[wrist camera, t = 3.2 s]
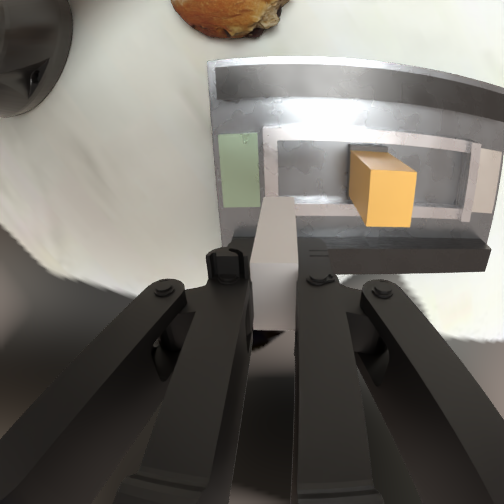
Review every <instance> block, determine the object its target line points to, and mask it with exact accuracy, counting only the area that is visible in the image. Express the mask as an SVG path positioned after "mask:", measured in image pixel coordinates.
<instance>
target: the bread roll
mask: <svg viewBox="0 0 504 504" xmlns="http://www.w3.org/2000/svg"><path fill="white" fill-rule="evenodd" d="M288 1H289V0H171V3H172V5H173V7H174V9H175V10H176V12H177V13H178V14H179V15H180V16H181V17H182V18H183V20H184V21H185V22H187V23H188V24H189V25H190V26H191V27H193V28H194V29H196V30H198V31H200V32H202V33H203V34H205V35H207V36H211V37H218V38H242V37H244V36H245V37H252V38H256V37H259V36H260V35H262V33H263V31H264V29H269V28H270V27H273V26H275V25H277V24H278V22H279V20H280V19H279V17H280V15H281V7H282V6H283V5H284V4H286V3H287V2H288ZM266 2H267V4H266Z"/></svg>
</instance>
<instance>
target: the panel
mask: <svg viewBox="0 0 504 504" xmlns="http://www.w3.org/2000/svg"><path fill="white" fill-rule="evenodd" d="M207 66H208V81H209V96H210V111H211V124H212V137H213V150H214V162H215V174H216V185H217V196H218V207H219V218H220V228H221V238H222V247H227V246H228V244H229V243H231V242H232V241H233V240H234V239H255V235H256V231H257V226H258V221H259V217H260V212H261V207H262V202H263V198H264V197H294V201H295V215H296V231H297V238H320V239H321V240H322V241H324V242H325V243H326V246H327V250H328V254H329V259H330V263H331V267H332V272H333V273H334V274H410V273H453V272H485V269H486V266H487V263H488V259H489V256H490V252H491V248H490V247H489V246H488V245H487V240H488V236H489V232H490V228H491V224H492V220H493V215H494V210H495V205H496V200H497V195H498V189H499V183H500V177H501V170H502V163H503V155H504V88H502V87H499V86H496V85H493V84H489V83H486V82H482V81H479V80H475V79H471V78H467V77H463V76H459V75H455V74H451V73H446V72H442V71H437V70H432V69H427V68H421V67H416V66H410V65H403V64H396V63H389V62H381V61H372V60H363V59H351V58H336V57H312V56H274V57H250V58H235V59H223V60H213V61H207ZM349 144H367V145H383V146H387V147H388V153H389V154H391V155H392V156H394V157H395V158H397V159H398V160H400V161H401V162H403V163H404V164H406V165H407V166H409V167H410V168H412V169H413V170H415V171H416V172H417V178H416V187H415V195H414V203H413V210H412V217H411V224H410V227H366V225H365V224H364V222H363V220H362V218H361V216H360V215H359V213H358V211H357V209H356V207H355V206H354V204H353V202H352V200H348V199H347V179H348V151H349Z"/></svg>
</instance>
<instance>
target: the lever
mask: <svg viewBox="0 0 504 504" xmlns="http://www.w3.org/2000/svg"><path fill="white" fill-rule="evenodd" d="M416 178H417V172H416V171H415V170H413V169H412V168H410V167H409V166H407V165H406V164H404V163H403V162H401V161H400V160H398V159H397V158H395V157H394V156H392V155H391V154H389V153H388V147H387V146H383V145H367V144H349V151H348V179H347V199H348V200H352V202H353V204H354V206H355V207H356V209H357V211H358V213H359V215H360V216H361V218H362V220H363V222H364V224H365V225H366V227H410V224H411V217H412V210H413V203H414V195H415V187H416Z"/></svg>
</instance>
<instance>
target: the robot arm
mask: <svg viewBox="0 0 504 504" xmlns="http://www.w3.org/2000/svg"><path fill="white" fill-rule="evenodd" d="M71 38H72V15H71V10H70V6H69V4H68V1H67V0H0V118H5V117H11V116H14V115H18V114H22V113H25V112H27V111H29V110H31V109H33V108H34V107H35V106H37V105H38V104H39V103H40V102H41V101H42V100H43V99H44V98H45V97H46V96H47V95H48V93H49V92H50V91H51V89H52V88H53V86H54V85H55V83H56V81H57V80H58V78H59V76H60V74H61V72H62V69H63V67H64V65H65V62H66V59H67V56H68V52H69V48H70V44H71ZM206 263H207V271H208V278H209V279H208V281H207V284H206V285H205V286H202V287H198V288H193V289H187V290H185V288H184V284H183V283H182V282H181V281H179V280H176V279H162V280H159V281H156V282H154V283H152V284H151V285H149V286H148V287H147V288H146V289H145V290H144V291H143V292H142V293H141V294H140V295H138V296H137V297H136V298H135V299H134V300H133V301H132V302H131V303H130V304H129V305H128V306H127V307H126V308H125V309H124V310H123V311H122V312H121V313H120V314H119V315H118V316H117V317H116V318H115V319H114V320H113V321H112V322H111V323H110V324H109V325H108V326H107V327H106V328H105V329H104V330H103V331H102V332H101V333H100V334H99V335H98V336H97V337H96V338H95V339H94V340H93V341H92V342H91V343H90V344H89V345H88V346H87V347H86V348H85V349H84V350H83V351H82V352H81V353H80V354H79V355H78V356H77V357H76V358H75V359H74V360H73V361H72V362H71V363H70V364H69V365H68V366H67V367H66V369H64V371H63V372H62V373H61V374H60V375H59V376H58V377H57V378H56V379H55V380H54V381H53V382H52V383H51V384H50V385H49V386H48V387H47V388H46V390H45V391H44V392H43V393H42V394H41V395H40V396H39V397H38V398H37V399H36V400H35V401H34V402H33V404H32V405H31V406H30V407H29V408H28V409H27V410H26V411H25V412H24V413H23V415H22V416H21V417H20V418H19V419H18V420H17V421H16V422H15V423H14V424H13V426H12V427H11V428H10V429H9V430H8V431H7V433H6V434H5V435H4V436H3V437H2V438H1V439H0V504H91V503H92V502H93V500H94V499H95V497H96V496H97V495H98V493H99V492H100V490H101V489H102V487H103V486H104V484H105V483H106V482H107V480H108V479H109V478H110V476H111V475H112V473H113V472H114V470H115V469H116V467H117V466H118V464H119V463H120V462H121V460H122V459H123V457H124V456H125V455H126V453H127V452H128V450H129V449H130V447H131V446H132V444H133V443H134V442H135V440H136V439H137V437H138V436H139V434H140V433H141V431H142V430H143V429H144V427H145V426H146V424H147V423H148V421H149V420H150V418H151V417H152V416H153V414H154V413H155V411H156V410H157V408H158V407H159V405H160V404H161V402H162V401H163V402H162V405H161V408H160V410H159V413H158V416H157V419H156V422H155V425H154V428H153V431H152V434H151V436H150V439H149V442H148V445H147V448H146V451H145V454H144V457H143V460H142V463H141V466H140V468H139V470H138V472H137V473H136V474H134V475H130V476H127V477H126V478H125V479H124V480H123V481H122V482H121V484H120V487H119V488H118V491H117V493H116V496H115V499H114V502H113V504H228V503H229V496H230V490H231V484H232V477H233V471H234V464H235V458H236V451H237V444H238V438H239V431H240V424H241V418H242V411H243V404H244V397H245V391H246V384H247V377H248V370H249V363H250V356H251V349H252V342H253V335H252V326H253V328H254V330H295V349H294V356H295V394H294V400H295V401H294V435H293V463H292V464H293V465H292V484H291V503H290V504H384V501H383V498H382V496H381V493H380V492H378V491H377V490H376V489H375V488H374V485H373V480H372V472H371V463H370V454H369V446H368V438H367V430H366V423H365V416H364V409H363V402H362V396H361V390H360V384H359V378H358V372H357V367H358V369H359V371H360V373H361V375H362V377H363V379H364V381H365V383H366V385H367V387H368V389H369V391H370V393H371V395H372V397H373V399H374V401H375V403H376V405H377V407H378V409H379V411H380V413H381V415H382V417H383V419H384V421H385V423H386V425H387V427H388V429H389V431H390V433H391V436H392V438H393V439H394V442H395V444H396V446H397V448H398V450H399V452H400V454H401V457H402V459H403V461H404V463H405V465H406V467H407V469H408V472H409V474H410V476H411V478H412V480H413V482H414V484H415V487H416V489H417V491H418V493H419V496H420V498H421V500H422V503H423V504H504V420H503V418H502V417H501V415H500V414H499V412H498V411H497V410H496V408H495V407H494V405H493V404H492V402H491V401H490V400H489V398H488V397H487V396H486V394H485V393H484V391H483V390H482V389H481V387H480V386H479V384H478V383H477V382H476V380H475V379H474V378H473V376H472V375H471V374H470V372H469V371H468V370H467V368H466V367H465V366H464V364H463V363H462V362H461V361H460V359H459V358H458V357H457V355H456V354H455V353H454V351H453V350H452V349H451V348H450V346H449V345H448V344H447V343H446V341H445V340H444V339H443V338H442V336H441V335H440V334H439V333H438V331H437V330H436V329H435V328H434V327H433V325H432V324H431V323H430V322H429V321H428V319H427V318H426V317H425V316H424V315H423V313H422V312H421V311H420V310H419V309H418V308H417V306H416V305H415V304H414V303H413V302H412V301H411V299H410V298H409V297H408V296H407V295H406V294H405V293H404V292H403V290H402V289H401V288H400V287H399V286H397V285H396V284H395V283H392V282H390V281H387V280H381V279H380V280H371V281H368V282H366V283H365V284H364V285H363V288H362V290H358V289H353V288H349V287H346V286H344V285H341V284H340V283H339V279H338V277H337V276H336V275H335V274H334V273H333V272H332V267H331V263H330V259H329V254H328V250H327V246H326V243H325V242H324V241H322V240H321V239H320V238H297V231H296V215H295V201H294V197H264V198H263V202H262V207H261V212H260V217H259V221H258V226H257V231H256V235H255V239H234V240H233V241H232V242H231V243H229V244H228V246H227V247H221V248H217V249H214V250H212V251H210V252H209V253H208V254H207V255H206ZM156 340H157V341H156ZM155 341H156V342H155ZM154 342H155V343H154ZM356 365H357V367H356Z"/></svg>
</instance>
